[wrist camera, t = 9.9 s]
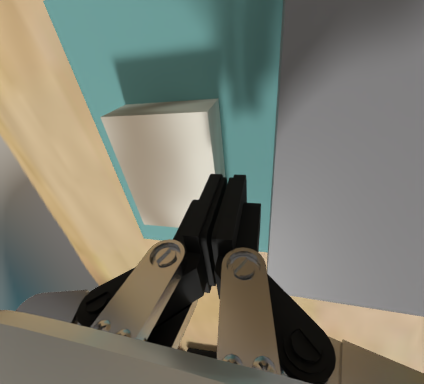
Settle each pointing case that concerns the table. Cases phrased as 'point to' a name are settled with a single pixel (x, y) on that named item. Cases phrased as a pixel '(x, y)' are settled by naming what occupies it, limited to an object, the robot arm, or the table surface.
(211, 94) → the mat
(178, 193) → the tile
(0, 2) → the table surface
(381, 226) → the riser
